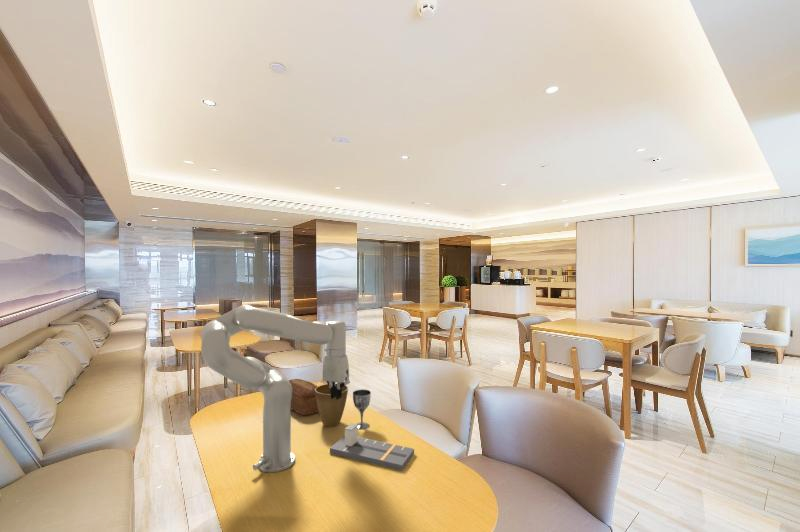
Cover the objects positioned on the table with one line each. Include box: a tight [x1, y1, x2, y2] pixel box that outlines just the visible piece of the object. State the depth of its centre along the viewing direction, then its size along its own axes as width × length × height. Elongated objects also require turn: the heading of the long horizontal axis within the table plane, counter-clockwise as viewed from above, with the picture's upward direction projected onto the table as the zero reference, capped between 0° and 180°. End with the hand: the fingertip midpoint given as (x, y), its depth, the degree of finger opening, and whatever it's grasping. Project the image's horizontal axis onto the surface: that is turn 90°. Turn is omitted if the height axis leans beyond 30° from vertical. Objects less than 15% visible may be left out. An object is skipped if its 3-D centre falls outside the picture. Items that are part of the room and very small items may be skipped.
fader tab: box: [344, 422, 359, 447], centre depth 137 cm, size 5×3×6 cm, turn 157°
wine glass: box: [352, 388, 372, 431], centre depth 157 cm, size 8×8×15 cm
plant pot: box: [315, 383, 349, 428], centre depth 160 cm, size 15×15×16 cm
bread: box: [288, 378, 319, 416], centre depth 179 cm, size 14×28×12 cm, turn 44°
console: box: [329, 435, 415, 472], centre depth 134 cm, size 12×30×2 cm, turn 67°
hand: (336, 397), depth 140 cm, fingers closed
